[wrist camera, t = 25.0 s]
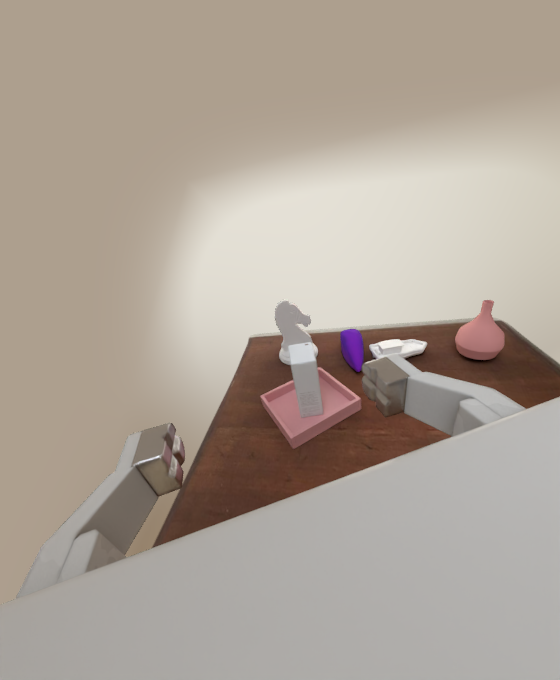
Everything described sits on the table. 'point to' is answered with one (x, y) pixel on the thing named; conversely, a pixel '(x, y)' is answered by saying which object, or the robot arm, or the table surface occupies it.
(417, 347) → the white toy boat
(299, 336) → the chess piece
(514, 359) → the table surface
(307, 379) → the cosmetic box
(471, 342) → the pink vase
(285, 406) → the tray
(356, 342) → the purple rounded wedge
